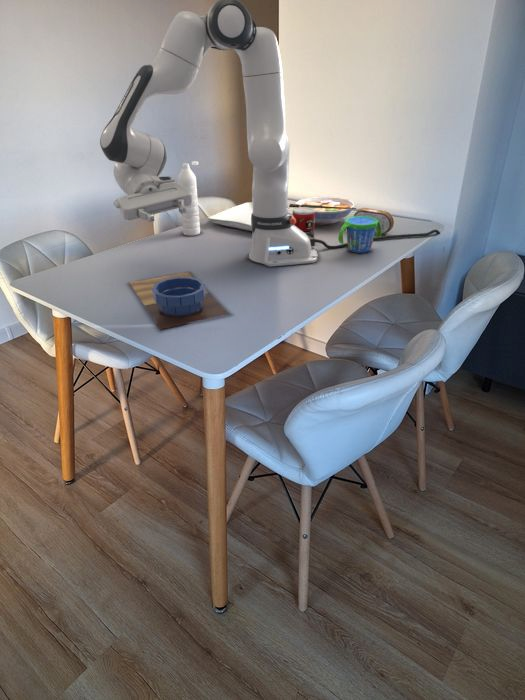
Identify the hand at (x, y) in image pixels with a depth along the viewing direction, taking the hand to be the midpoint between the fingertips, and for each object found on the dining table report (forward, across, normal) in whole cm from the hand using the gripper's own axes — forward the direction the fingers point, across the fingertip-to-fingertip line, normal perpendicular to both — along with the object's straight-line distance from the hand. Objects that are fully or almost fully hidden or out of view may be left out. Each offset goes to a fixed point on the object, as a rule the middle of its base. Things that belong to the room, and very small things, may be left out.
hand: (168, 215), depth 137 cm
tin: (+2, +80, +27) cm, 84 cm away
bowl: (+19, -7, +16) cm, 26 cm away
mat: (+21, -6, +16) cm, 27 cm away
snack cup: (+13, +63, +23) cm, 68 cm away
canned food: (-5, +53, +27) cm, 60 cm away
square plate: (-34, +52, +34) cm, 71 cm away
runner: (+5, -4, +20) cm, 21 cm away
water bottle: (-37, +26, +33) cm, 56 cm away
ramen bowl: (-18, +74, +32) cm, 82 cm away
